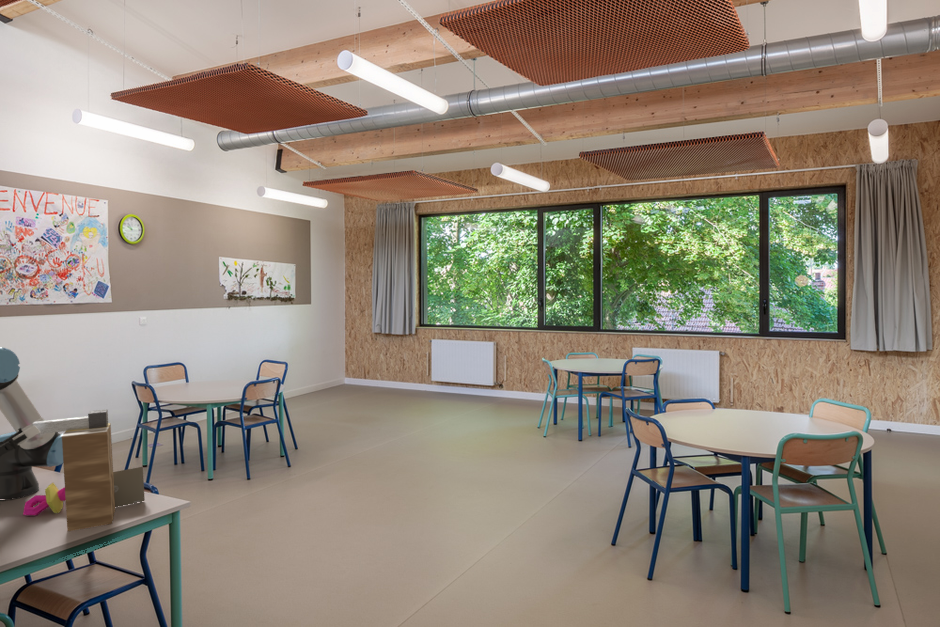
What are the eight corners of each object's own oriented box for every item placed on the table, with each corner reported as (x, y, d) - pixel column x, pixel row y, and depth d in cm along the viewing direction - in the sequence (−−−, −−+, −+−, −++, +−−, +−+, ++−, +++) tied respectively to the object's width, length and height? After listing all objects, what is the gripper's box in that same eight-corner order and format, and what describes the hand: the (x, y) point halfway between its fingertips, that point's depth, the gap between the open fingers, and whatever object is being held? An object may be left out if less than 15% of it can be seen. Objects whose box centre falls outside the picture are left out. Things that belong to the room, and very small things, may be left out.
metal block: (35, 432, 190) (34, 416, 190) (108, 424, 199) (107, 409, 199) (32, 435, 186) (31, 419, 185) (106, 426, 195) (106, 411, 195)
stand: (73, 517, 196) (68, 427, 195) (115, 510, 202) (110, 423, 200) (67, 531, 185) (61, 436, 183) (112, 523, 190) (106, 431, 189)
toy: (33, 510, 207) (17, 489, 201) (89, 487, 213) (76, 467, 207) (29, 530, 199) (14, 509, 193) (88, 506, 205) (75, 486, 200)
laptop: (139, 493, 219) (137, 459, 219) (144, 503, 209) (143, 466, 209) (81, 505, 208) (79, 469, 208) (84, 515, 198) (82, 477, 198)
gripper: (-12, 466, 193) (54, 426, 201) (-33, 488, 171) (42, 442, 179) (-28, 448, 191) (40, 408, 199) (-52, 468, 169) (25, 422, 177)
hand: (41, 424), depth 189 cm, fingers open, 13 cm apart
